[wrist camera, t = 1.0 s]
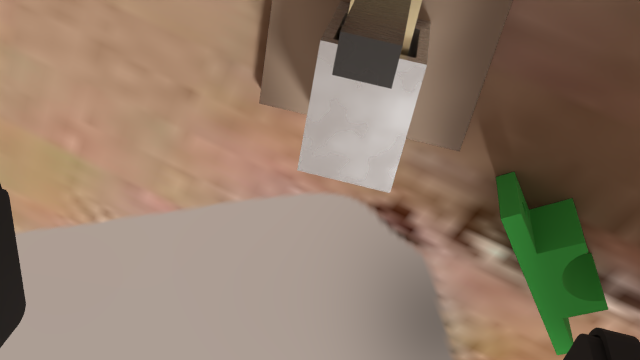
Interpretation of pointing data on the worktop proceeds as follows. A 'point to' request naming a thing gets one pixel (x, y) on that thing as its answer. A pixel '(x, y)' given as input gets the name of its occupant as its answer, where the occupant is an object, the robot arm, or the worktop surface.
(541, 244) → the pipe clamp
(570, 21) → the worktop surface
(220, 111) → the worktop surface
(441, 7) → the base board
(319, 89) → the sleeve
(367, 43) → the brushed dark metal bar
